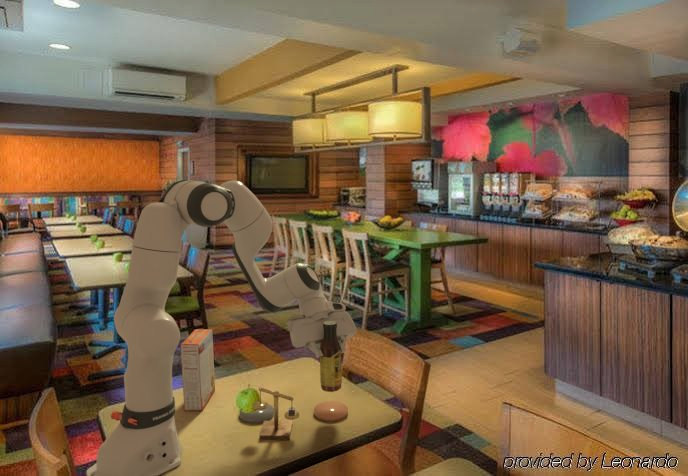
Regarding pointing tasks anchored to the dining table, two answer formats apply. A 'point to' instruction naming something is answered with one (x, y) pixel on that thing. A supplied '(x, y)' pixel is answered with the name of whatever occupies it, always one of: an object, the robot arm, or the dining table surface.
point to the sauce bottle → (330, 359)
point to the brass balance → (276, 418)
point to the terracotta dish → (330, 411)
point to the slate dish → (258, 415)
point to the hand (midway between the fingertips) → (331, 354)
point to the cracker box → (197, 369)
